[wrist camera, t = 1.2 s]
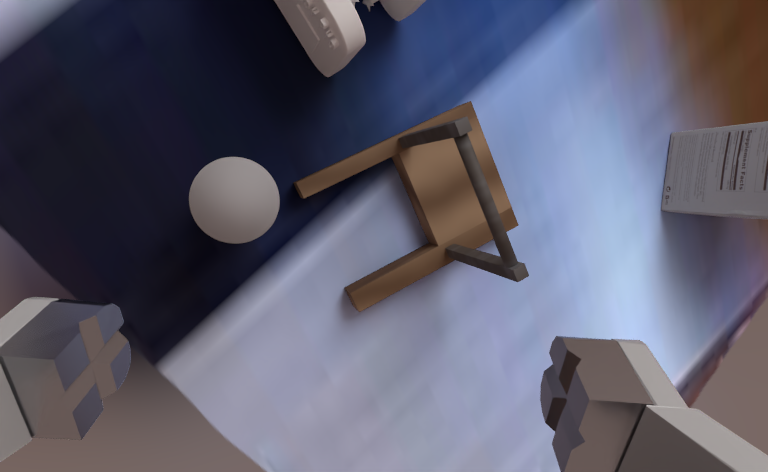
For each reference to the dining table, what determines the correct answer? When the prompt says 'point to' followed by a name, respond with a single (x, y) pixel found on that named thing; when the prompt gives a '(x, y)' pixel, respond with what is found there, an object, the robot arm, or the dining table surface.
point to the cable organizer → (335, 27)
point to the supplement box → (718, 172)
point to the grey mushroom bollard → (234, 200)
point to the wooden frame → (436, 201)
